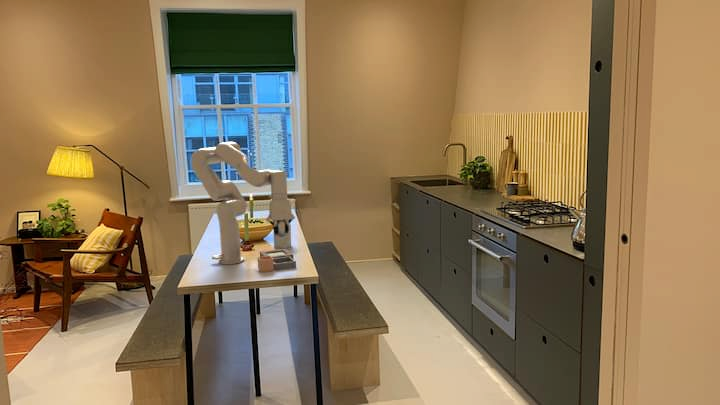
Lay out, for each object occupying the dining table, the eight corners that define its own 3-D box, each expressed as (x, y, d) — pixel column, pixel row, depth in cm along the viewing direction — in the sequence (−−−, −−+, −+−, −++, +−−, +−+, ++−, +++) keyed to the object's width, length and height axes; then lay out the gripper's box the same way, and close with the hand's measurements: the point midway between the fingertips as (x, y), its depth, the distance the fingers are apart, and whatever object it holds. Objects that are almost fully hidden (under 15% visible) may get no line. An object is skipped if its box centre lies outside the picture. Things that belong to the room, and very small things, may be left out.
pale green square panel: (270, 259, 273) (270, 257, 273) (265, 255, 281) (265, 253, 281) (287, 257, 276) (287, 255, 276) (282, 253, 285) (282, 251, 284)
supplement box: (273, 247, 303) (272, 225, 301) (280, 244, 309) (279, 223, 307) (285, 248, 300) (284, 226, 298) (291, 245, 307) (290, 223, 305)
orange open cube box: (261, 272, 255) (260, 260, 254) (257, 269, 260) (257, 257, 259) (274, 270, 257) (273, 258, 256) (270, 267, 263) (270, 255, 262)
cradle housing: (266, 263, 270) (266, 257, 269) (260, 257, 283) (259, 251, 282) (293, 260, 275) (293, 254, 275) (285, 254, 288) (285, 248, 288)
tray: (274, 270, 258) (274, 264, 258) (269, 264, 268) (269, 259, 267) (296, 267, 262) (295, 261, 262) (289, 262, 272) (289, 256, 271)
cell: (278, 237, 260) (277, 219, 258) (275, 235, 264) (274, 218, 262) (287, 236, 261) (286, 218, 260) (284, 234, 265) (283, 217, 264)
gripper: (264, 198, 253) (266, 237, 256) (298, 195, 259) (300, 233, 262) (260, 196, 260) (262, 234, 262) (294, 194, 266) (295, 230, 269)
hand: (281, 233), depth 262 cm, fingers closed on cell, 4 cm apart
